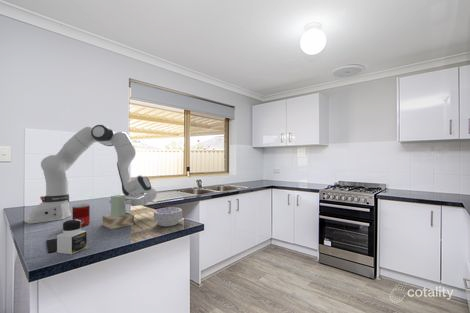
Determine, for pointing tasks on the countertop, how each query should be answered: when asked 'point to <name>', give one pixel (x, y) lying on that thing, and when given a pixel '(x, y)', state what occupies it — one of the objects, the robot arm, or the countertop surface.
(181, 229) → the countertop surface
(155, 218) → the paper bowls
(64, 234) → the medicine bottle
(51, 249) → the cell phone
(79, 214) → the canned food
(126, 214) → the wooden base
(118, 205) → the sage green post
